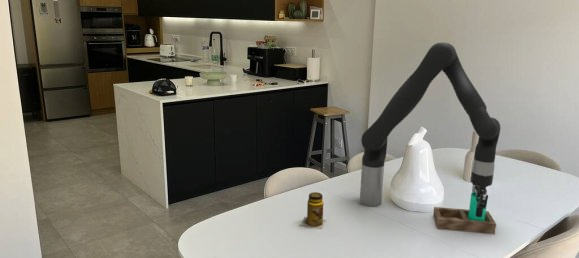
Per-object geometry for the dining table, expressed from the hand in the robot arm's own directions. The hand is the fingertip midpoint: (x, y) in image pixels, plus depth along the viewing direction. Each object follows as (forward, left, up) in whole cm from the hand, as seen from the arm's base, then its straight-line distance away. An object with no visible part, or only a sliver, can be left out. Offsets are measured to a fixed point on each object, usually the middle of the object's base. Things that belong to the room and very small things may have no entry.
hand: (476, 213), depth 168 cm
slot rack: (-5, 0, -5) cm, 7 cm away
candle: (0, 0, -3) cm, 3 cm away
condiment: (-62, -10, -6) cm, 63 cm away
